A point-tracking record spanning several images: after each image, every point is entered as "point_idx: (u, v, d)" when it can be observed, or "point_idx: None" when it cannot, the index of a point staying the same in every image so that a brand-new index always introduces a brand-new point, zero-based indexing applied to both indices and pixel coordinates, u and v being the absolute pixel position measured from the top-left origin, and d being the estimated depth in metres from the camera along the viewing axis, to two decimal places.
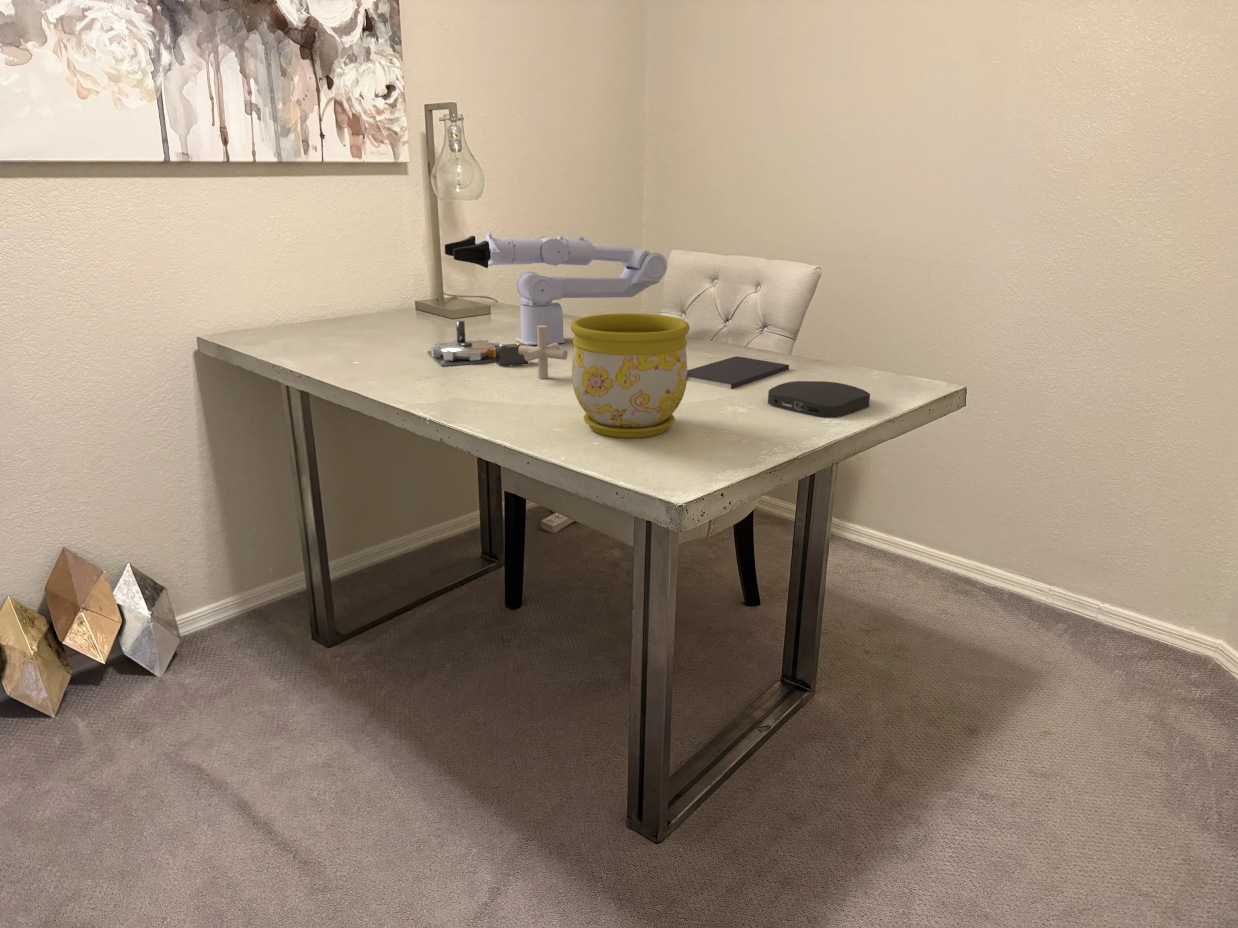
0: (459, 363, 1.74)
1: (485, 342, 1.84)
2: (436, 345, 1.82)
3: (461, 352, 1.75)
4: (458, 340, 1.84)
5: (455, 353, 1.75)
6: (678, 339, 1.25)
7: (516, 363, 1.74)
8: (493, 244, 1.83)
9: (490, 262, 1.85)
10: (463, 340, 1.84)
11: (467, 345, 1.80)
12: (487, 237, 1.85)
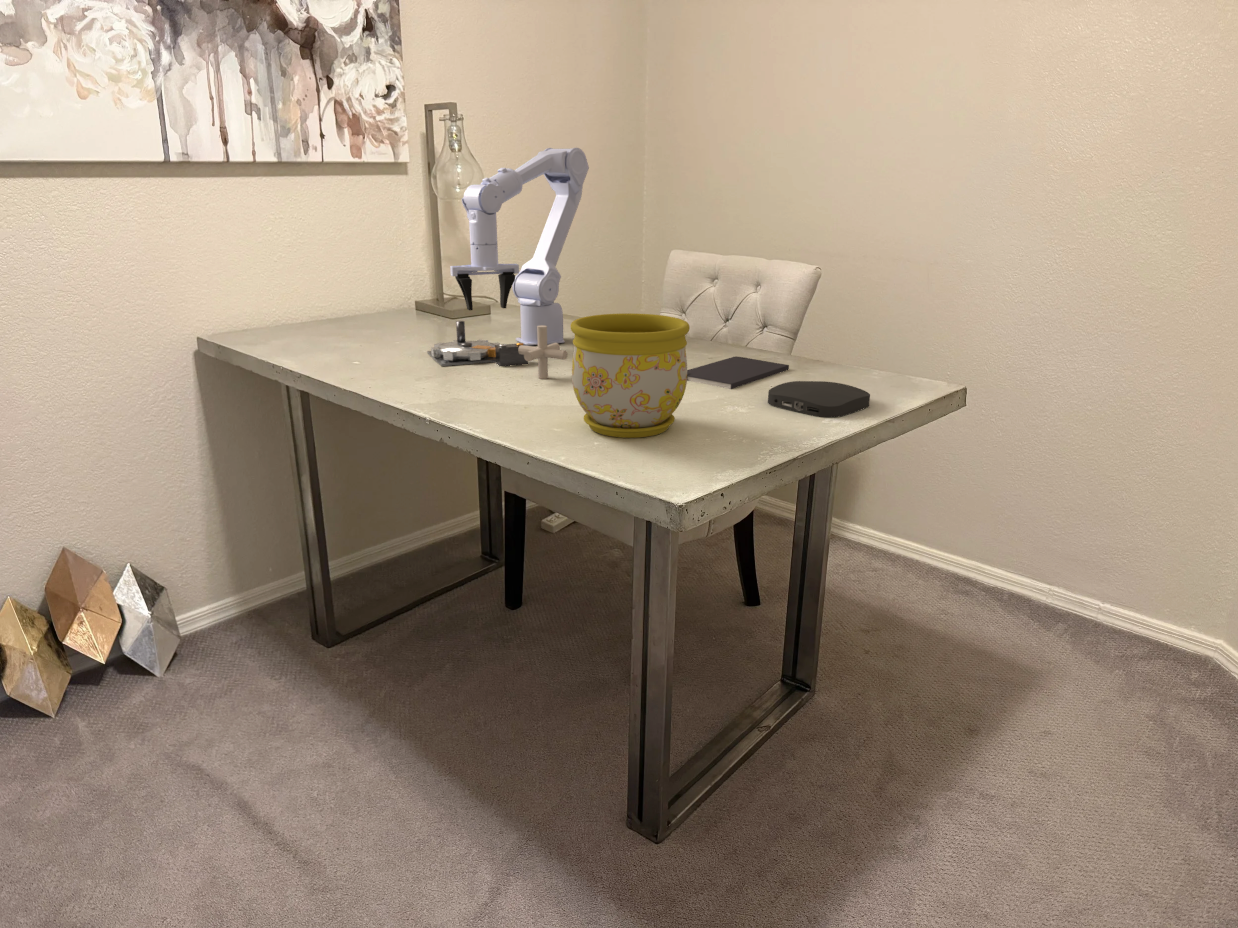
0: (459, 363, 1.74)
1: (485, 342, 1.84)
2: (436, 345, 1.82)
3: (461, 352, 1.75)
4: (458, 340, 1.84)
5: (455, 353, 1.75)
6: (678, 339, 1.25)
7: (516, 363, 1.74)
8: (503, 267, 1.81)
9: None
10: (463, 340, 1.84)
11: (467, 345, 1.80)
12: (488, 270, 1.78)
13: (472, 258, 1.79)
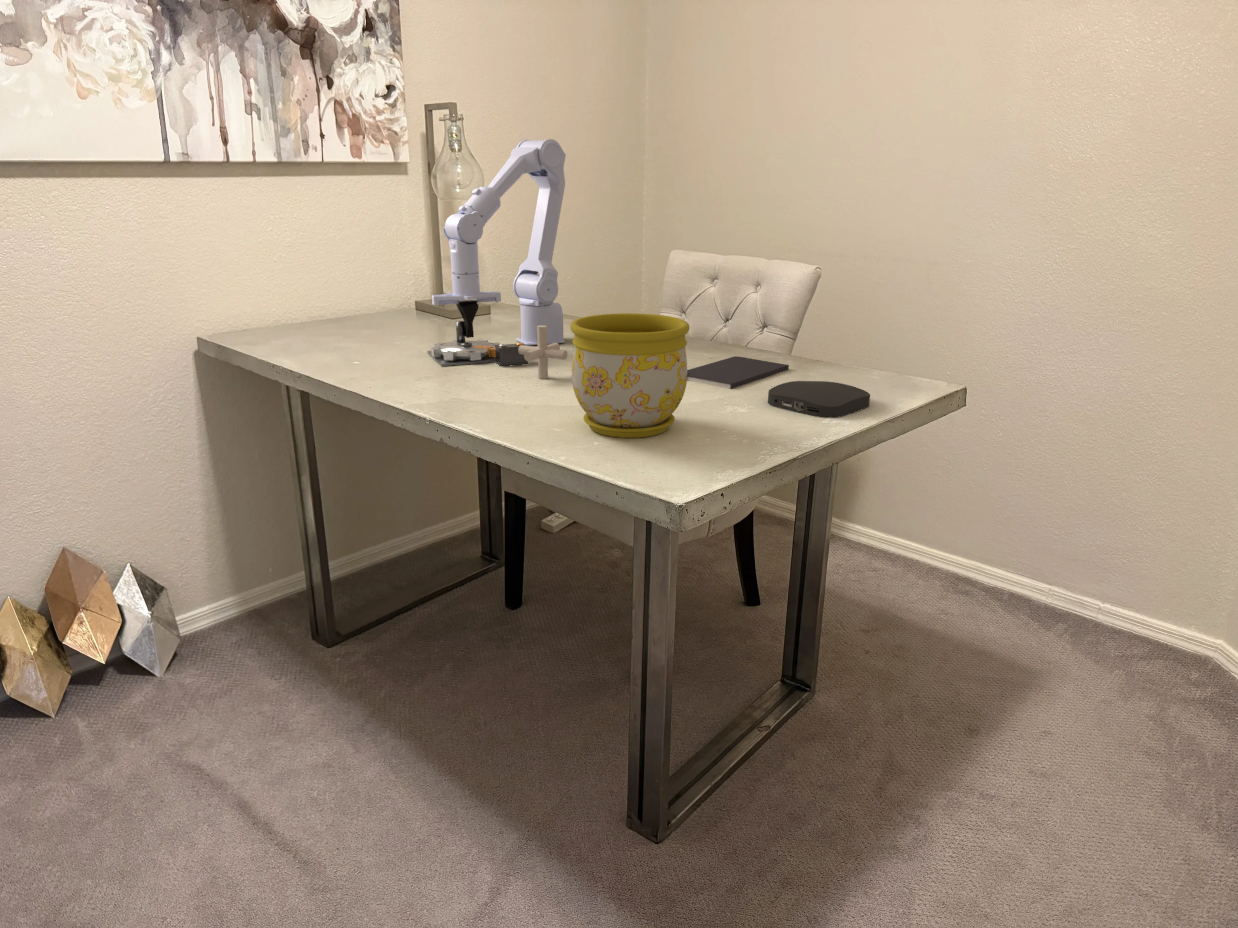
0: (459, 363, 1.74)
1: (485, 342, 1.84)
2: (436, 345, 1.82)
3: (461, 352, 1.75)
4: (458, 340, 1.84)
5: (455, 353, 1.75)
6: (678, 339, 1.25)
7: (516, 363, 1.74)
8: (485, 296, 1.81)
9: None
10: (463, 340, 1.84)
11: (467, 345, 1.80)
12: None
13: (453, 287, 1.79)
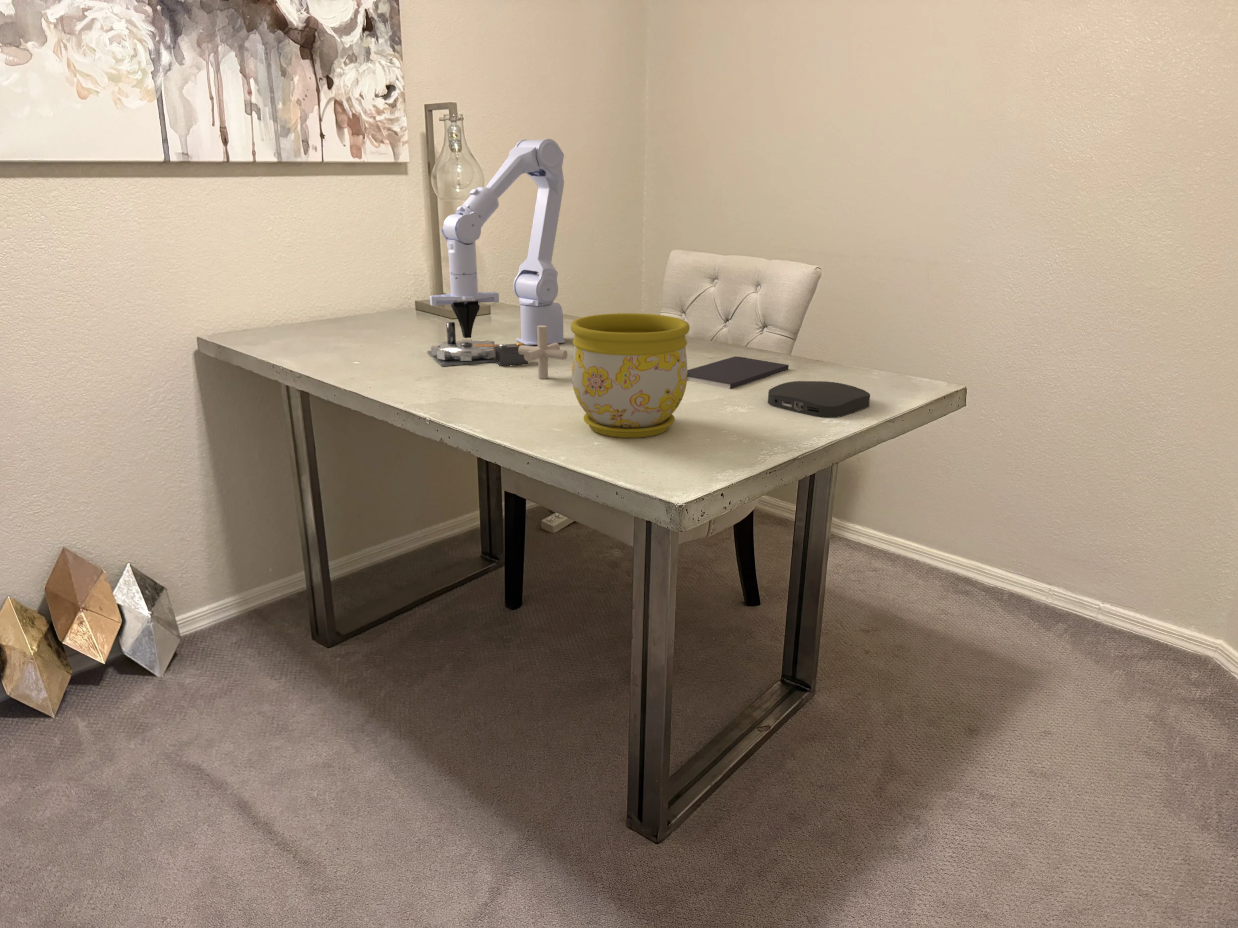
0: (459, 363, 1.74)
1: (475, 341, 1.86)
2: (433, 348, 1.79)
3: (476, 351, 1.76)
4: (450, 341, 1.82)
5: (471, 353, 1.75)
6: (678, 339, 1.25)
7: (516, 363, 1.74)
8: (483, 296, 1.81)
9: None
10: (455, 341, 1.83)
11: (470, 345, 1.80)
12: None
13: (451, 287, 1.79)
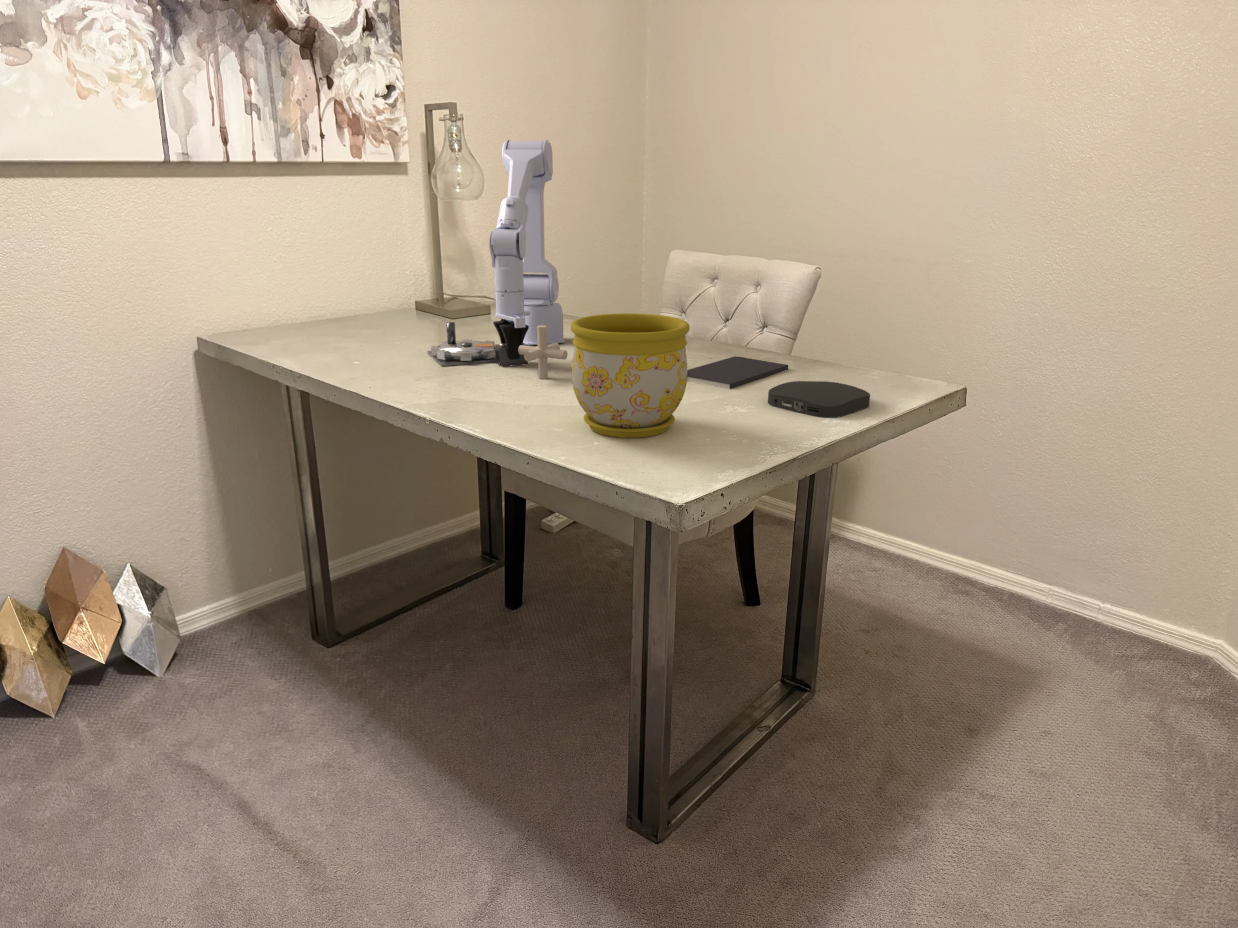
0: (459, 363, 1.74)
1: (475, 341, 1.86)
2: (433, 348, 1.79)
3: (476, 351, 1.76)
4: (450, 341, 1.82)
5: (471, 353, 1.75)
6: (678, 339, 1.25)
7: (516, 362, 1.74)
8: None
9: None
10: (455, 341, 1.83)
11: (470, 345, 1.80)
12: None
13: (516, 306, 1.69)
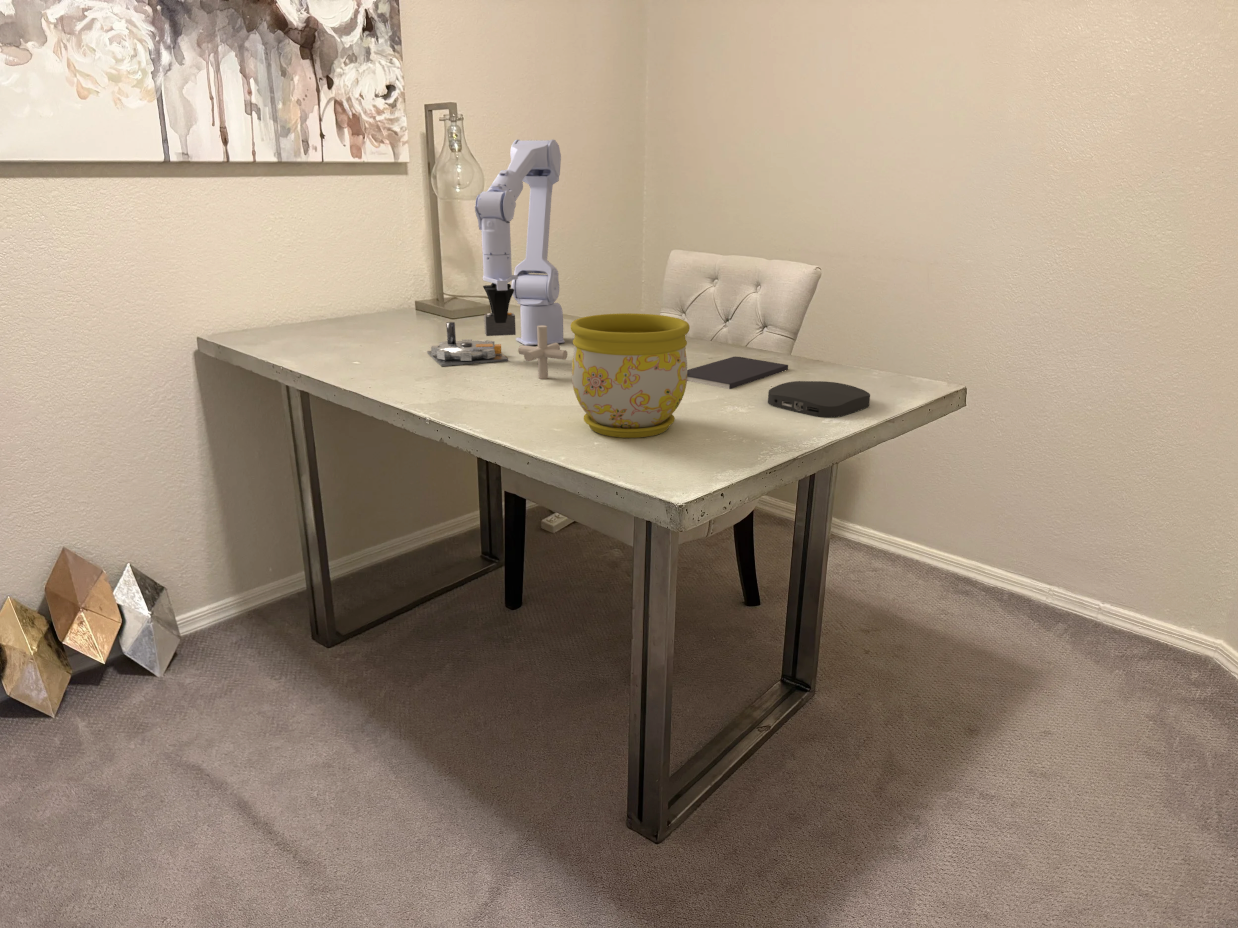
0: (459, 363, 1.74)
1: (475, 341, 1.86)
2: (433, 348, 1.79)
3: (476, 351, 1.76)
4: (450, 341, 1.82)
5: (471, 353, 1.75)
6: (678, 339, 1.25)
7: (503, 332, 1.75)
8: None
9: None
10: (455, 341, 1.83)
11: (470, 345, 1.80)
12: None
13: (502, 269, 1.70)
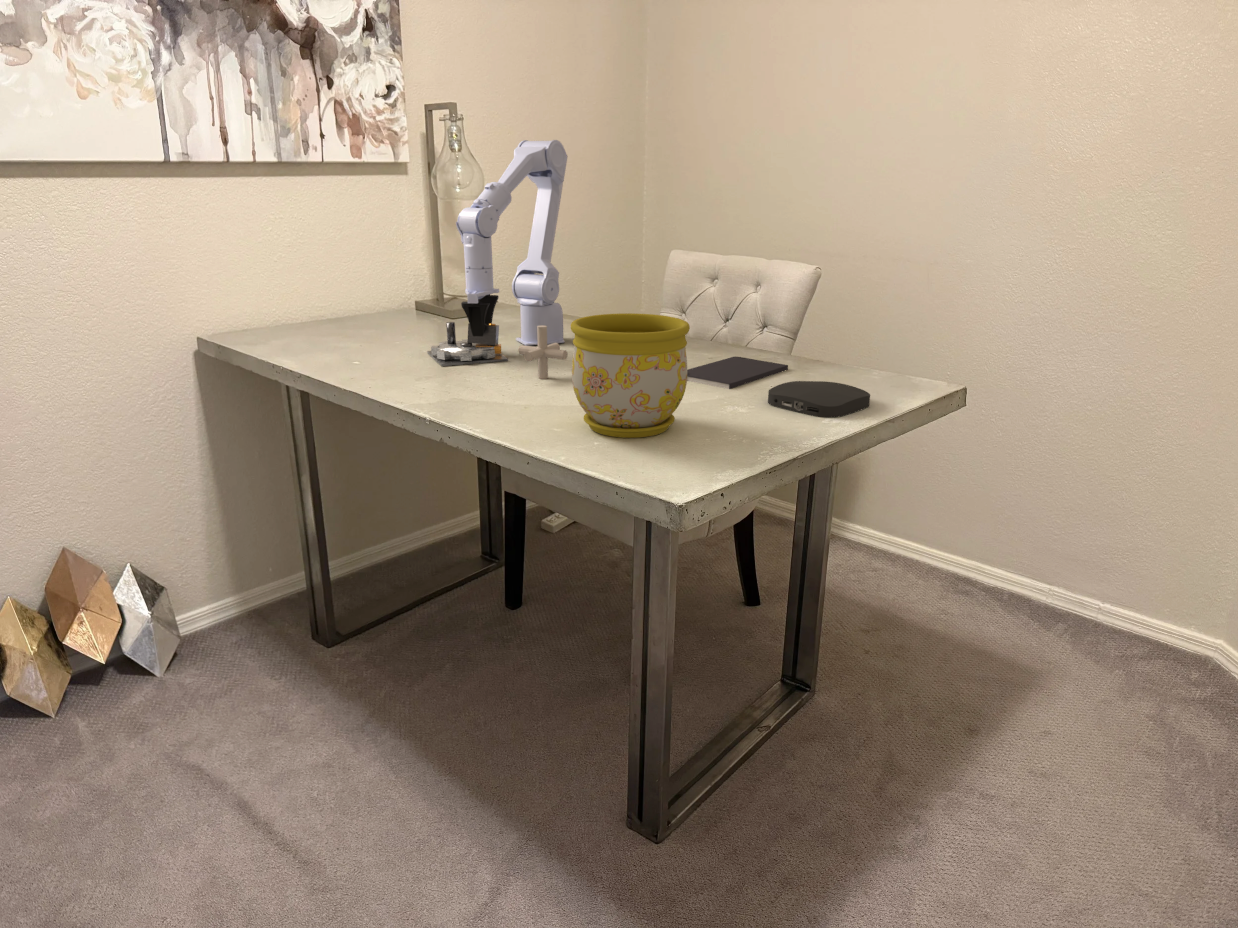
0: (459, 363, 1.74)
1: None
2: (433, 348, 1.79)
3: (476, 351, 1.76)
4: (450, 341, 1.82)
5: (471, 353, 1.75)
6: (678, 339, 1.25)
7: (483, 341, 1.80)
8: None
9: None
10: (455, 341, 1.83)
11: (470, 345, 1.80)
12: None
13: (479, 283, 1.75)
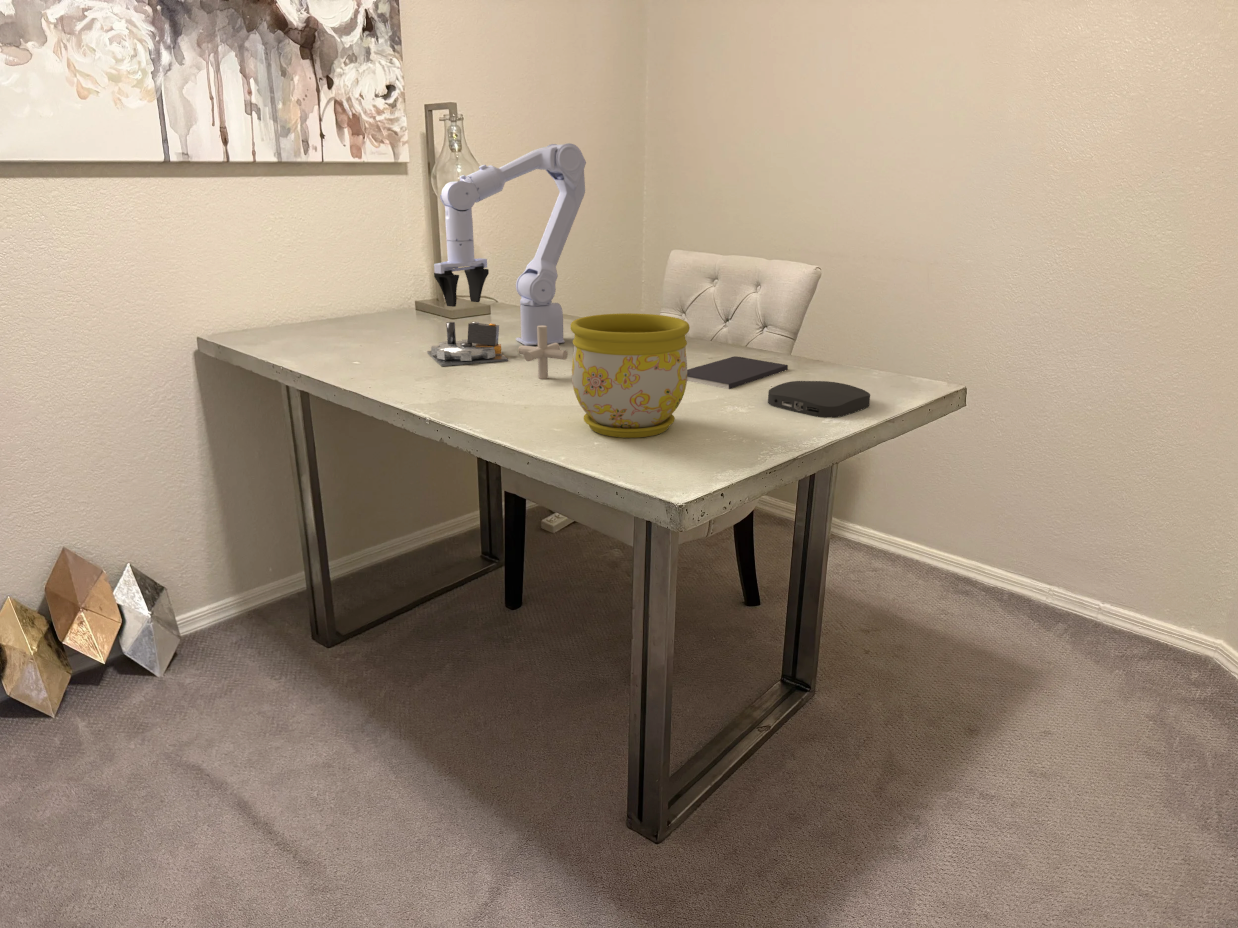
0: (459, 363, 1.74)
1: None
2: (433, 348, 1.79)
3: (476, 351, 1.76)
4: (450, 341, 1.82)
5: (471, 353, 1.75)
6: (678, 339, 1.25)
7: (483, 341, 1.80)
8: (479, 262, 1.86)
9: None
10: (455, 341, 1.83)
11: (470, 345, 1.80)
12: None
13: (453, 254, 1.81)
